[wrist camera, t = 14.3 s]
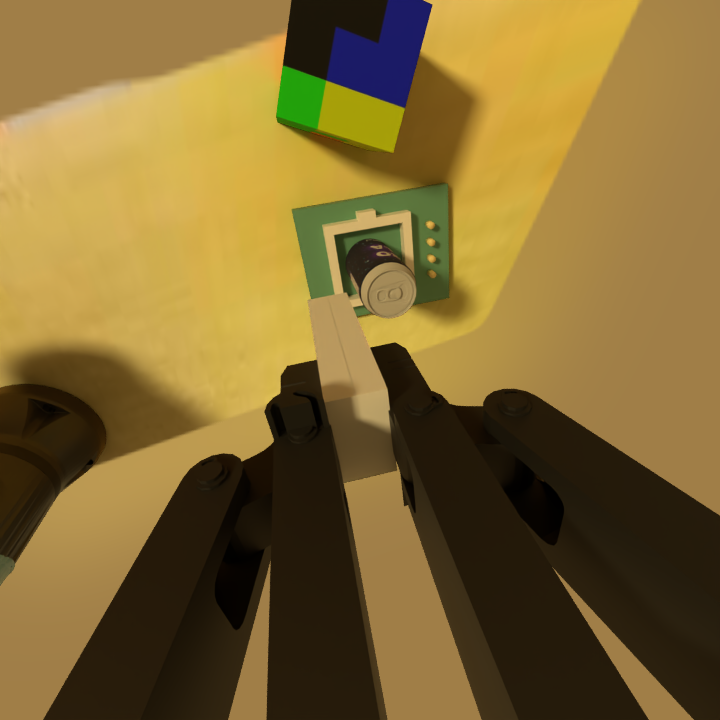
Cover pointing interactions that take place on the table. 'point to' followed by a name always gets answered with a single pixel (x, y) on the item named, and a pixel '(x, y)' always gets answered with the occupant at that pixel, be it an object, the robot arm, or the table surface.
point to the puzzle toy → (351, 68)
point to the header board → (382, 222)
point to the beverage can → (380, 279)
